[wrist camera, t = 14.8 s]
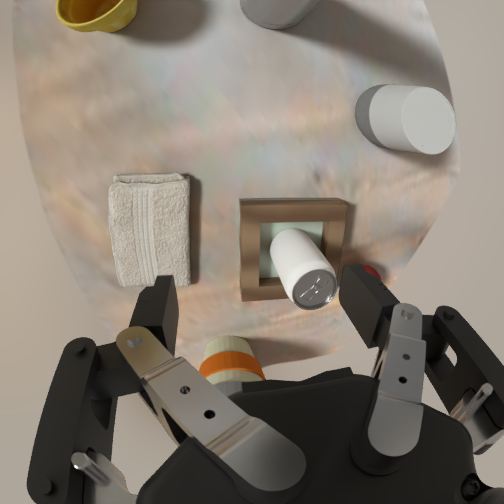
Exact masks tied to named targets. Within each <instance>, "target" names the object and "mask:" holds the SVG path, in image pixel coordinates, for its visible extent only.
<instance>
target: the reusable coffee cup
mask: <svg viewBox="0 0 504 504" xmlns="http://www.w3.org/2000/svg"><path fill="white" fill-rule="evenodd" d="M199 372H200V373H201V374H202V375H203V376H204V377H205V378H206V379H207V380H208V381H209V382H210V383H212V384H213V385H214V386H215V387H216V388H217V389H218V390H219V391H221V392H222V393H223V394H224V395H225V396H226V397H227V396H229V395H231V394H233V393H236V392H238V391H242V389H241V382H251V381H261V380H266V379H265V377H264V374H263V372H262V369H261V367H260V364H259V362H258V361H257V359H255V358H254V355H253V352H252V350H251V347H250V345H249V343H248V342H247V341H246V340H244V339H242V338H240V337H237V336H222V337H218V338H216V339H214V340H212V341H211V342H210V343H209V344H208V345H207V346H206V349H205V353H204V359H203V363H202V364H201V366H200V369H199Z"/></svg>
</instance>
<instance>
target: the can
mask: <svg viewBox="0 0 504 504" xmlns="http://www.w3.org/2000/svg"><path fill="white" fill-rule="evenodd" d="M270 255H271V258H272V260H273V263H274V265H275V268H276V270H277V272H278V275H279V277H280V280H281V282H282V284H283V287H284V289H285V291H286V293H287V295H288V297H289V298H290V299H291V300H292V301H293V302H294V303H295V304H296V305H297V306H298V307H300V308H301V309H304V310H315V309H319V308H321V307H323V306H325V305H327V304H328V303H329V302H330V301H331V300H332V299H333V297H334V296H335V294H336V291H337V286H338V284H337V280H336V275H335V271H334V269H333V268H332V266H331V265H330V263H329V262H328V261H327V259H326V258H325V257H324V255H323V254H322V253H321V251H320V250H319V249H318V247H317V246H316V245H315V244H314V242H313V241H312V240H311V239H310V237H309V236H308V235H307V234H306V233H305V232H303V231H301V230H299V229H287V230H284V231H282V232H280V233H279V234H278V235H277V236H276V237H275V238H274V239H273V241H272V243H271V246H270Z"/></svg>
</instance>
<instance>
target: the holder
mask: <svg viewBox="0 0 504 504" xmlns="http://www.w3.org/2000/svg"><path fill="white" fill-rule="evenodd" d="M347 206H348V205H347V204H346V203H344V202H343V201H341V200H340V199H339V198H251V199H239V253H240V292H241V298H242V302H246V301H260V300H273V299H286V298H289V297H288V295H287V293H286V291H285V289H284V287H283V284H282V282H281V280H280V277H279V275H278V272H277V270H276V268H275V265H274V263H273V260H272V258H271V255H270V246H271V243H272V241H273V239H274V238H275V237H276V236H277V235H278V234H279V233H280V232H282V231H284V230H287V229H299V230H301V231H303V232H305V233H306V234H307V235H308V236H309V237H310V239H311V240H312V241H313V242H314V244H315V245H316V246H317V247H318V249H319V250H320V251H321V253H322V254H323V255H324V257H325V258H326V259H327V261H328V262H329V263H330V265H331V266H332V268H333V269H334V271H335V275H336V280H337V275H338V269H339V263H340V257H341V251H342V244H343V237H344V230H345V222H346V214H347Z"/></svg>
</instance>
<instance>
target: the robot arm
mask: <svg viewBox="0 0 504 504" xmlns="http://www.w3.org/2000/svg"><path fill="white" fill-rule="evenodd" d="M320 1H322V0H240V4H241V8H242V10H243V12H244V14H245V15H246V16H247V18H248V19H250V20H251V21H252V22H254V23H255V24H257V25H259V26H262V27H265V28H269V29H286V28H289V27H292V26H294V25H296V24H297V23H299V22H300V21H301V20H302V19H303V18H304V17H305V16H306V15H307V14H308V13H309V12H310V11H311V10H312V9H313V8H314V7H315V6H316V5H317V4H318V3H319V2H320ZM339 301H340V304H341V306H342V307H343V309H344V311H345V312H346V314H347V315H348V317H349V318H350V320H351V322H352V323H353V325H354V326H355V328H356V330H357V331H358V333H359V334H360V336H361V338H362V339H363V341H364V343H365V344H366V346H367V347H368V348H373V347H379V350H378V353H377V356H376V359H375V363H374V367H373V370H372V374H371V377H369V376H365V375H359V374H353V372H352V370H351V368H350V367H346V368H341V369H337V370H331V371H326V372H323V373H321V374H318V375H316V376H313V377H311V378H308V379H306V380H303V381H282V380H261V381H251V382H241V389H242V391H238V392H236V393H233V394H231V395H229V396H227V397H226V396H225V395H224V394H223V393H222V392H221V391H219V390H218V389H217V388H216V387H215V386H214V385H213V384H212V383H210V382H209V381H208V380H207V379H206V378H205V377H204V376H203V375H202V374H201V373H200V372H198V371H197V370H196V369H195V368H194V367H193V366H192V365H191V364H190V363H189V362H188V361H187V360H186V359H185V358H183V357H179V358H177V359H176V358H174V354H175V344H176V335H177V326H178V317H179V308H178V300H177V293H176V287H175V280H174V276H173V275H157V277H156V280H155V283H154V286H151V287H146V288H145V289H144V290H143V291H142V292H141V293H140V294H139V297H138V300H137V303H136V306H135V309H134V312H133V315H132V318H131V321H130V324H129V328H127V329H125V330H123V331H121V332H120V333H119V335H118V336H117V338H116V342H113V343H110V344H105V345H101V346H96V344H95V342H94V341H93V340H92V339H90V338H86V337H81V338H77V339H74V340H72V341H71V342H69V343H68V344H67V345H66V346H65V348H64V351H63V353H62V356H61V359H60V361H59V364H58V366H57V369H56V372H55V374H54V377H53V380H52V383H51V386H50V389H49V392H48V395H47V398H46V402H45V405H44V408H43V412H42V415H41V419H40V422H39V426H38V430H37V434H36V438H35V442H34V446H33V451H32V456H31V461H30V466H29V471H28V477H27V489H28V493H29V495H30V497H31V498H32V500H33V501H34V502H35V503H36V504H504V488H493V487H490V486H487V485H485V484H484V483H483V482H481V480H480V479H479V477H478V475H477V473H476V469H475V464H474V457H473V454H475V455H480V454H483V453H484V452H485V451H487V450H488V449H489V448H490V447H491V446H492V445H493V444H494V443H495V442H496V441H498V440H499V439H500V438H501V437H502V436H503V435H504V366H503V365H502V363H501V362H500V361H499V359H498V358H497V357H496V356H495V355H494V353H493V352H492V351H491V350H490V348H489V347H488V346H487V344H486V343H485V342H484V341H483V340H482V339H481V337H480V336H479V335H478V334H477V333H476V331H475V330H474V329H473V328H472V327H471V326H470V325H469V323H468V322H467V321H466V320H465V319H464V318H463V317H462V316H461V314H460V313H459V312H458V311H457V310H455V309H454V308H452V307H449V306H439V307H438V308H437V309H436V312H435V314H434V315H422V313H421V311H420V310H419V309H418V308H417V307H415V306H413V305H411V304H407V303H400V302H399V301H398V300H397V298H396V297H395V296H394V295H393V294H392V293H391V292H390V290H388V288H387V287H386V286H385V285H383V283H382V282H381V281H380V280H379V278H377V277H376V276H374V275H372V274H371V273H368V272H367V271H366V270H365V269H364V267H363V266H362V265H361V264H353V265H345V266H344V268H343V273H342V279H341V284H340V289H339ZM449 345H450V346H451V348H452V349H453V350H454V352H455V353H456V355H457V363H456V365H455V367H454V365H453V364H452V363H451V361H450V359H449V358H448V357H447V355H446V354H445V352H446V350H447V348H448V346H449ZM424 372H425V373H426V375H427V377H428V378H429V380H430V382H431V383H432V385H433V387H434V388H435V390H436V392H437V393H438V395H439V397H440V399H441V400H442V402H443V404H444V406H445V407H446V409H447V411H448V413H449V415H450V416H448V415H446V414H444V413H442V412H440V411H438V410H436V409H434V408H432V407H430V406H428V405H426V404H424V403H422V402H421V397H422V390H423V380H424ZM132 393H138V395H139V396H140V397H141V398H142V400H143V401H144V403H145V404H146V405H147V407H148V408H149V409H150V410H151V412H152V413H153V414H154V415H155V417H156V418H157V419H158V421H159V422H160V423H161V424H162V426H163V428H164V429H165V431H166V432H167V434H168V435H169V436H170V438H171V439H172V440H173V441H174V442H175V444H176V445H177V446H178V448H177V449H176V450H175V451H174V453H173V454H172V455H171V456H170V457H169V458H168V459H167V460H166V461H165V462H164V464H163V465H162V466H161V467H160V468H159V469H158V470H157V471H156V472H155V473H154V474H153V475H152V476H151V477H150V478H149V479H148V480H147V481H146V483H145V484H144V485H143V486H142V487H141V489H140V491H139V493H138V495H134V494H131V493H129V491H128V489H127V486H126V480H125V477H124V475H123V474H122V473H121V471H119V469H117V468H116V467H115V466H114V465H113V464H112V463H111V455H112V443H113V432H114V424H115V414H116V407H117V400H118V397H119V396H123V395H127V394H132Z"/></svg>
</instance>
